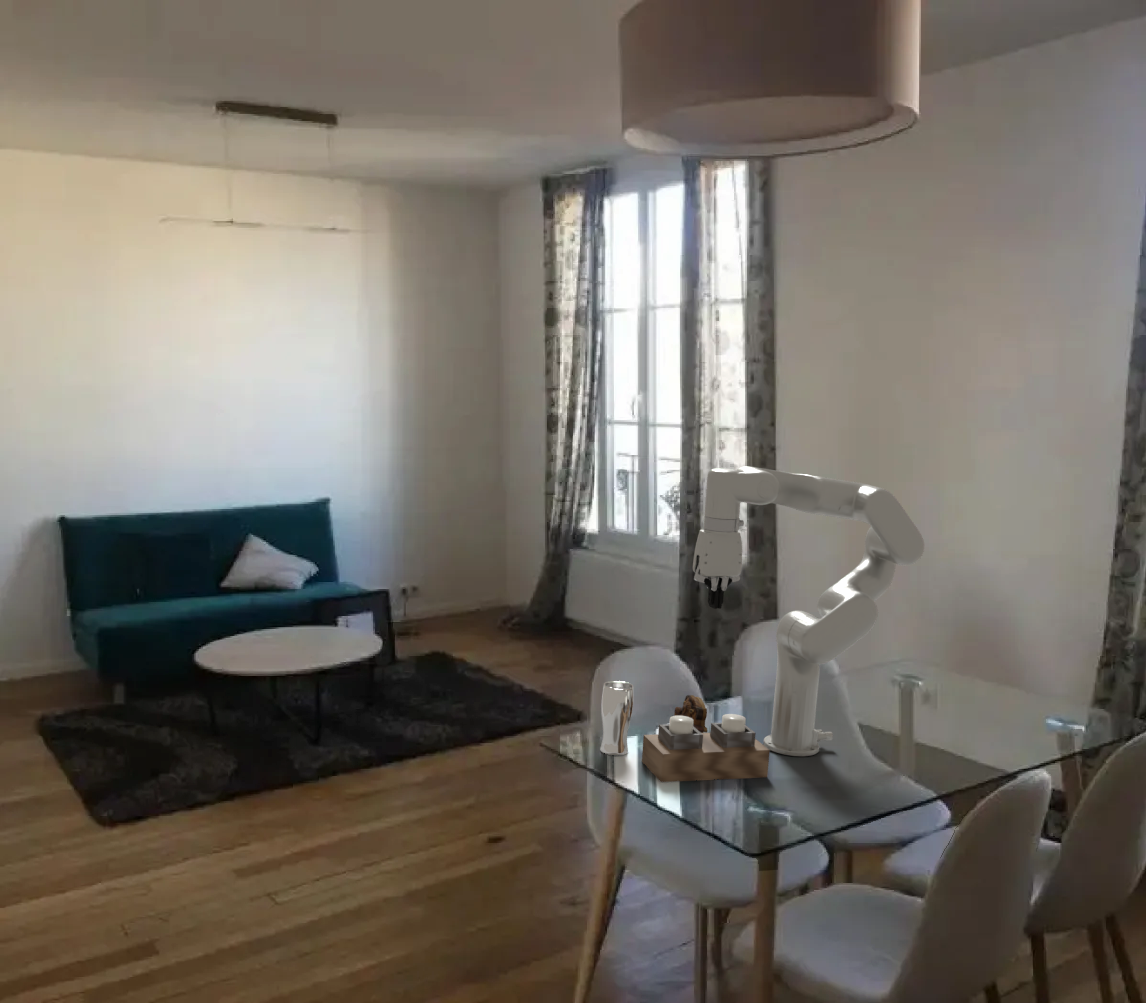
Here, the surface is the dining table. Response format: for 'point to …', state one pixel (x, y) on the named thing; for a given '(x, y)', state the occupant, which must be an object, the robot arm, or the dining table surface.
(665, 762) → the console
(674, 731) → the knob
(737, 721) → the knob
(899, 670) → the dining table surface
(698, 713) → the wooden carving
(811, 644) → the robot arm
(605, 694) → the beer glass
